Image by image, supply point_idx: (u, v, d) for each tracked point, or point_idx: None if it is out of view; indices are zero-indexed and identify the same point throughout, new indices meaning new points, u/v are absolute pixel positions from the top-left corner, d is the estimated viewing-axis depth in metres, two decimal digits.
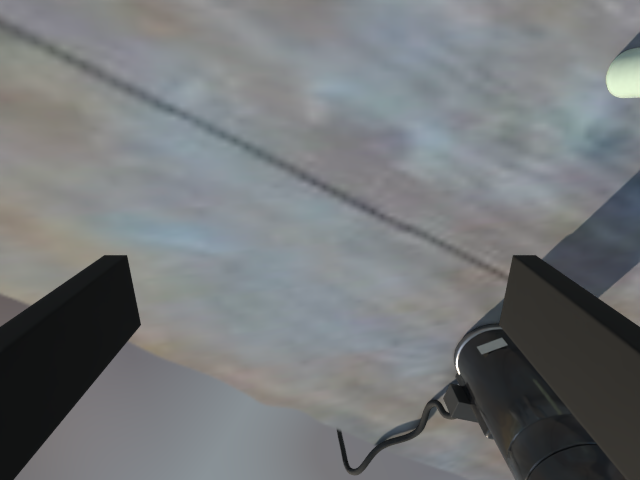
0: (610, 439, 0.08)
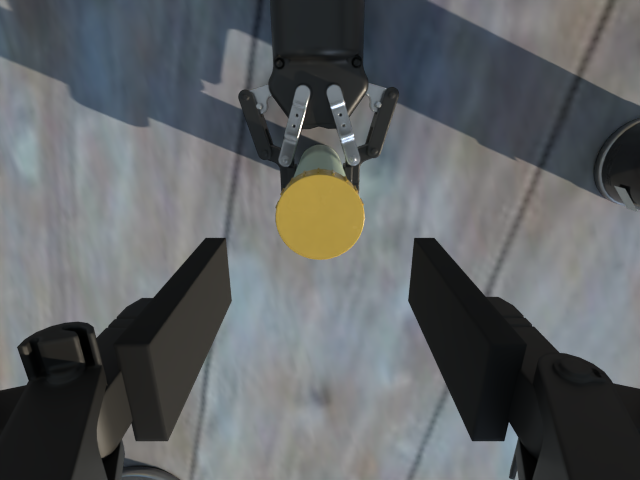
0: (454, 384, 0.10)
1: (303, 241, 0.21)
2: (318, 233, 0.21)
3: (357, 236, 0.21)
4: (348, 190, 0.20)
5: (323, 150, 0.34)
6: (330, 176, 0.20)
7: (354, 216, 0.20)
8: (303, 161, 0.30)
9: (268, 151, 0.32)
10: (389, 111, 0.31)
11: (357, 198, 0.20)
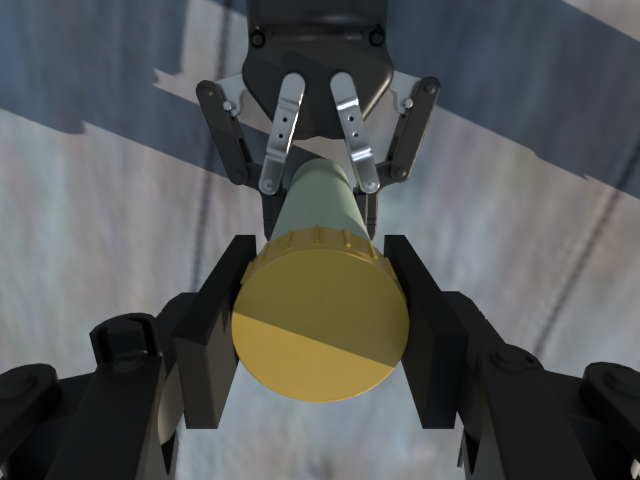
0: (411, 375, 0.10)
1: (288, 372, 0.11)
2: (317, 358, 0.10)
3: (394, 363, 0.11)
4: (380, 280, 0.10)
5: (325, 169, 0.23)
6: (342, 253, 0.09)
7: (389, 328, 0.10)
8: (294, 190, 0.19)
9: (243, 172, 0.21)
10: (425, 113, 0.20)
11: (397, 295, 0.10)
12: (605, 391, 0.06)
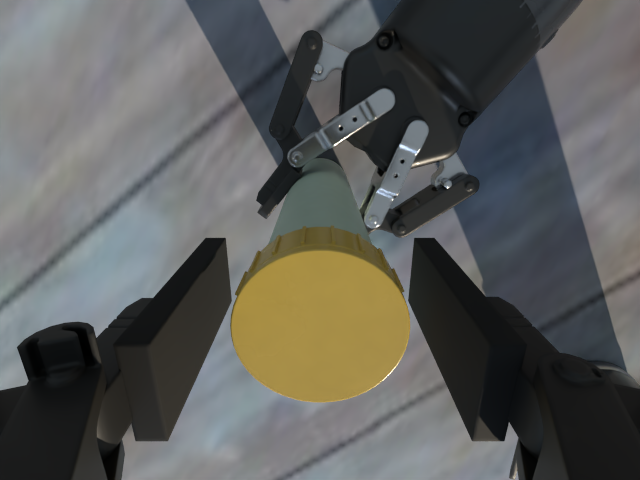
0: (454, 384, 0.10)
1: (332, 379, 0.11)
2: (340, 352, 0.10)
3: (402, 306, 0.10)
4: (316, 258, 0.09)
5: (345, 180, 0.24)
6: (268, 265, 0.09)
7: (366, 284, 0.10)
8: (321, 180, 0.20)
9: (285, 131, 0.21)
10: (452, 201, 0.22)
11: (341, 256, 0.09)
12: None
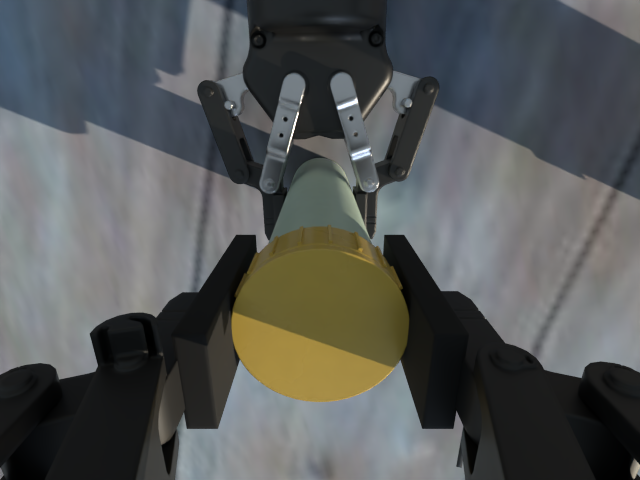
0: (410, 375, 0.10)
1: (365, 361, 0.11)
2: (350, 336, 0.10)
3: (365, 264, 0.09)
4: (262, 278, 0.10)
5: (325, 168, 0.23)
6: (233, 309, 0.10)
7: (318, 269, 0.09)
8: (295, 189, 0.20)
9: (244, 171, 0.22)
10: (424, 113, 0.20)
11: (279, 262, 0.09)
12: (604, 391, 0.06)
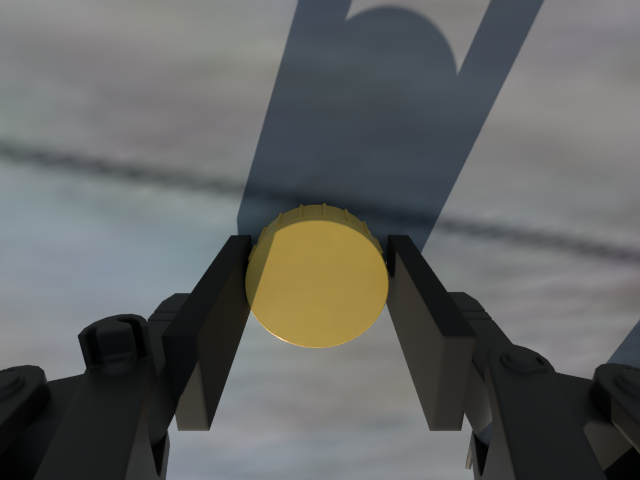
0: (417, 376, 0.10)
1: (353, 313, 0.13)
2: (341, 291, 0.13)
3: (352, 231, 0.12)
4: (271, 243, 0.12)
5: None
6: (247, 270, 0.12)
7: (315, 236, 0.12)
8: None
9: None
10: None
11: (284, 230, 0.12)
12: (616, 392, 0.06)
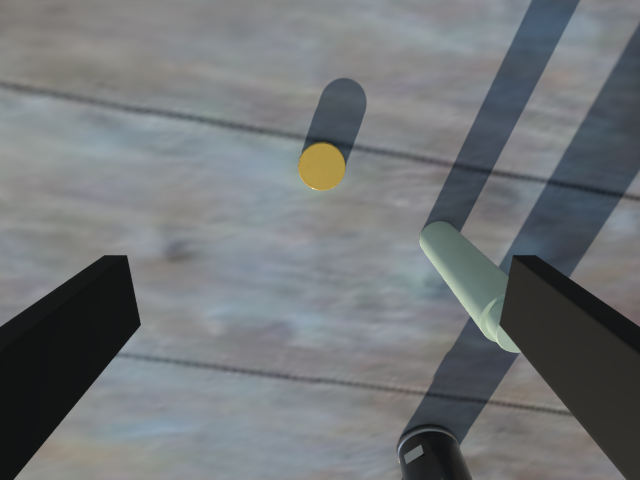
0: (610, 439, 0.08)
1: (334, 176, 0.39)
2: (329, 168, 0.39)
3: (333, 147, 0.38)
4: (307, 151, 0.38)
5: None
6: (299, 160, 0.39)
7: (321, 148, 0.38)
8: None
9: None
10: None
11: (311, 146, 0.38)
12: None
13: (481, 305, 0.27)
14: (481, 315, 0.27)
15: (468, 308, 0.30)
